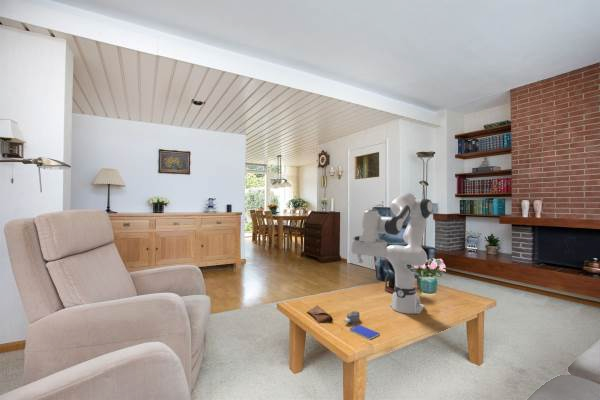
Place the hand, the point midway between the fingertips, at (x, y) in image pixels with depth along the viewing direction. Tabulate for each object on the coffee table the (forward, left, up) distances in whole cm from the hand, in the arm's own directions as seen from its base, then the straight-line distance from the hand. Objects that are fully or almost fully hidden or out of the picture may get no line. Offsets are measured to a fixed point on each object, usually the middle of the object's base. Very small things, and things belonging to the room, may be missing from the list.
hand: (368, 264), depth 155 cm
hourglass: (-66, -16, -32) cm, 75 cm away
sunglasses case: (+13, -24, -33) cm, 42 cm away
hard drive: (+12, +5, -33) cm, 35 cm away
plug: (+5, -7, -32) cm, 33 cm away
